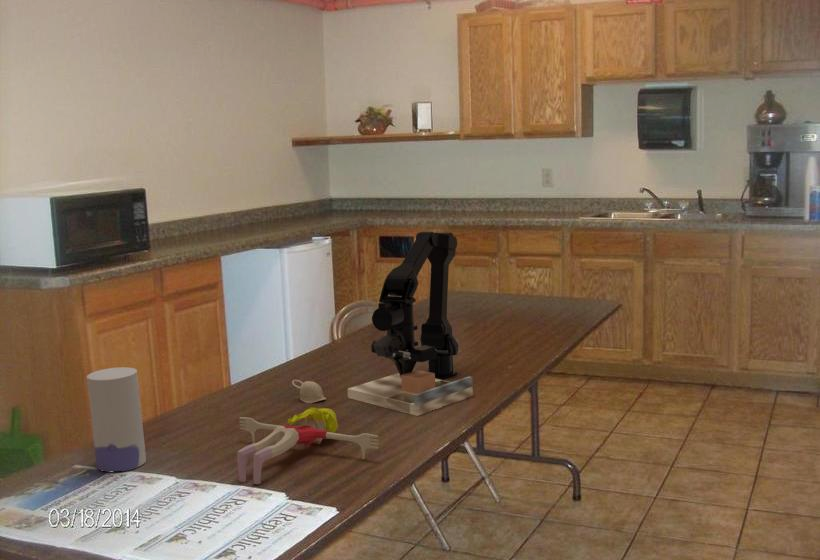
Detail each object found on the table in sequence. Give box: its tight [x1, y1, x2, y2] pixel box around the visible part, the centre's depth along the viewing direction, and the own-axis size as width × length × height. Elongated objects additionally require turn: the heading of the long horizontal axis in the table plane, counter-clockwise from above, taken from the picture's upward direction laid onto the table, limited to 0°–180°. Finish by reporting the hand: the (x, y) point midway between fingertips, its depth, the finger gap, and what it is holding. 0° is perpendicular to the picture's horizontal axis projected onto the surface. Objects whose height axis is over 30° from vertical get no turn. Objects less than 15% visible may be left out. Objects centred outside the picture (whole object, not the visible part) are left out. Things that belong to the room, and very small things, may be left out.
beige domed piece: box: [291, 379, 327, 404], centre depth 228 cm, size 4×8×5 cm, turn 63°
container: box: [86, 366, 147, 472], centre depth 186 cm, size 10×10×20 cm
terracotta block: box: [401, 369, 436, 394], centre depth 223 cm, size 6×6×4 cm
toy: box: [236, 407, 380, 485], centre depth 189 cm, size 28×28×9 cm
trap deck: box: [347, 372, 474, 417], centre depth 226 cm, size 20×25×5 cm
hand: (405, 382), depth 227 cm, fingers closed
